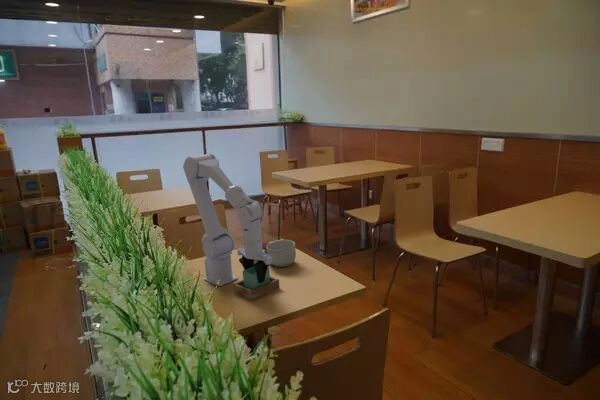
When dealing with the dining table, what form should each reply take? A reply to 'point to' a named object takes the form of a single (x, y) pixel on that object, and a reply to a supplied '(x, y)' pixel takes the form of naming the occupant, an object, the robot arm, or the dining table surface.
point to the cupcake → (264, 244)
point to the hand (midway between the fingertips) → (256, 279)
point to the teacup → (282, 252)
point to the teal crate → (254, 278)
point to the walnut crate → (257, 292)
